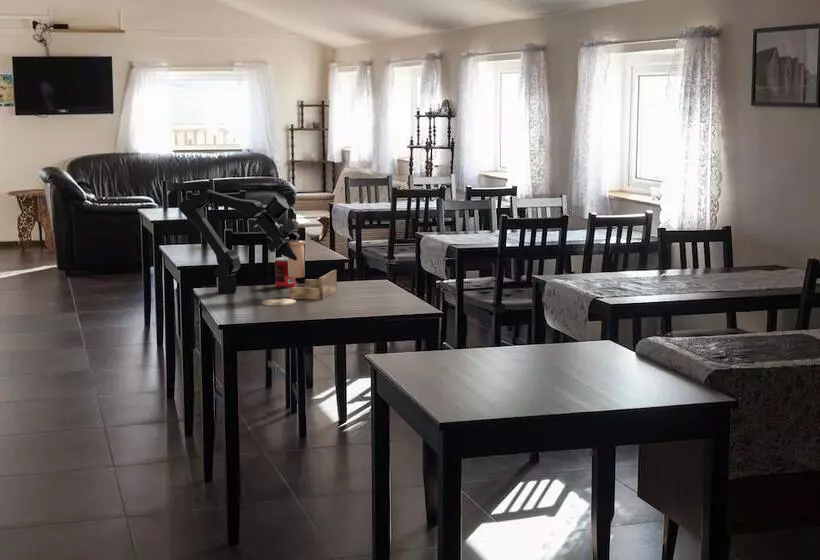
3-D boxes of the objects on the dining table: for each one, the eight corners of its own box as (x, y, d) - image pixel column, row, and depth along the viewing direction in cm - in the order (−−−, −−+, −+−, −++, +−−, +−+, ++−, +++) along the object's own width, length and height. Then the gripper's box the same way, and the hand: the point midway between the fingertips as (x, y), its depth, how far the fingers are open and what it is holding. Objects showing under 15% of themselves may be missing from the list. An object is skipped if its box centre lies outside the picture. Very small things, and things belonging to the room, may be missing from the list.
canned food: (297, 285, 432) (296, 257, 431) (293, 288, 424) (292, 259, 423) (278, 284, 433) (277, 256, 431) (273, 288, 425) (272, 259, 424)
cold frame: (290, 298, 400) (289, 277, 399) (305, 289, 420) (305, 269, 419) (322, 299, 398) (322, 278, 396) (336, 290, 418) (336, 270, 417)
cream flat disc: (265, 306, 383) (265, 305, 383) (259, 301, 394) (259, 299, 394) (299, 304, 387) (299, 303, 386) (292, 299, 398) (292, 297, 398)
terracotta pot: (288, 278, 403) (287, 242, 401) (286, 275, 409) (285, 240, 407) (306, 277, 404) (306, 241, 402) (304, 274, 411) (303, 239, 409)
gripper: (275, 214, 395) (305, 246, 394) (294, 210, 413) (322, 240, 412) (255, 236, 398) (284, 267, 397) (275, 231, 416) (303, 261, 415)
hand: (299, 258), depth 405 cm, fingers closed on terracotta pot, 6 cm apart
